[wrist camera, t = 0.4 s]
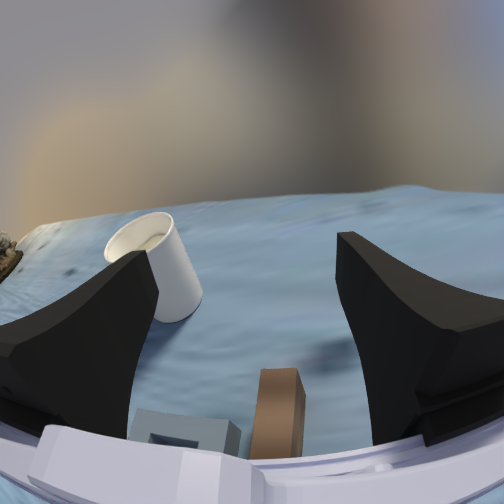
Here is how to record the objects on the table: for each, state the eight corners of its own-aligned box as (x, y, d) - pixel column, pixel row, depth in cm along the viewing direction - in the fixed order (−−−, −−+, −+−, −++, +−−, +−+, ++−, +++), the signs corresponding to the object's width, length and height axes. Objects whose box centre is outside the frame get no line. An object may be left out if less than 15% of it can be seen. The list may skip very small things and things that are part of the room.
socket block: (227, 523, 18) (210, 523, 16) (136, 499, 21) (113, 493, 18) (242, 431, 26) (229, 419, 23) (156, 421, 28) (137, 408, 26)
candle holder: (135, 315, 42) (91, 255, 35) (175, 270, 48) (141, 209, 40) (179, 338, 37) (131, 271, 29) (221, 284, 42) (188, 214, 35)
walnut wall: (291, 548, 15) (277, 559, 11) (256, 545, 16) (233, 553, 12) (305, 394, 27) (296, 367, 23) (275, 395, 28) (261, 369, 24)
